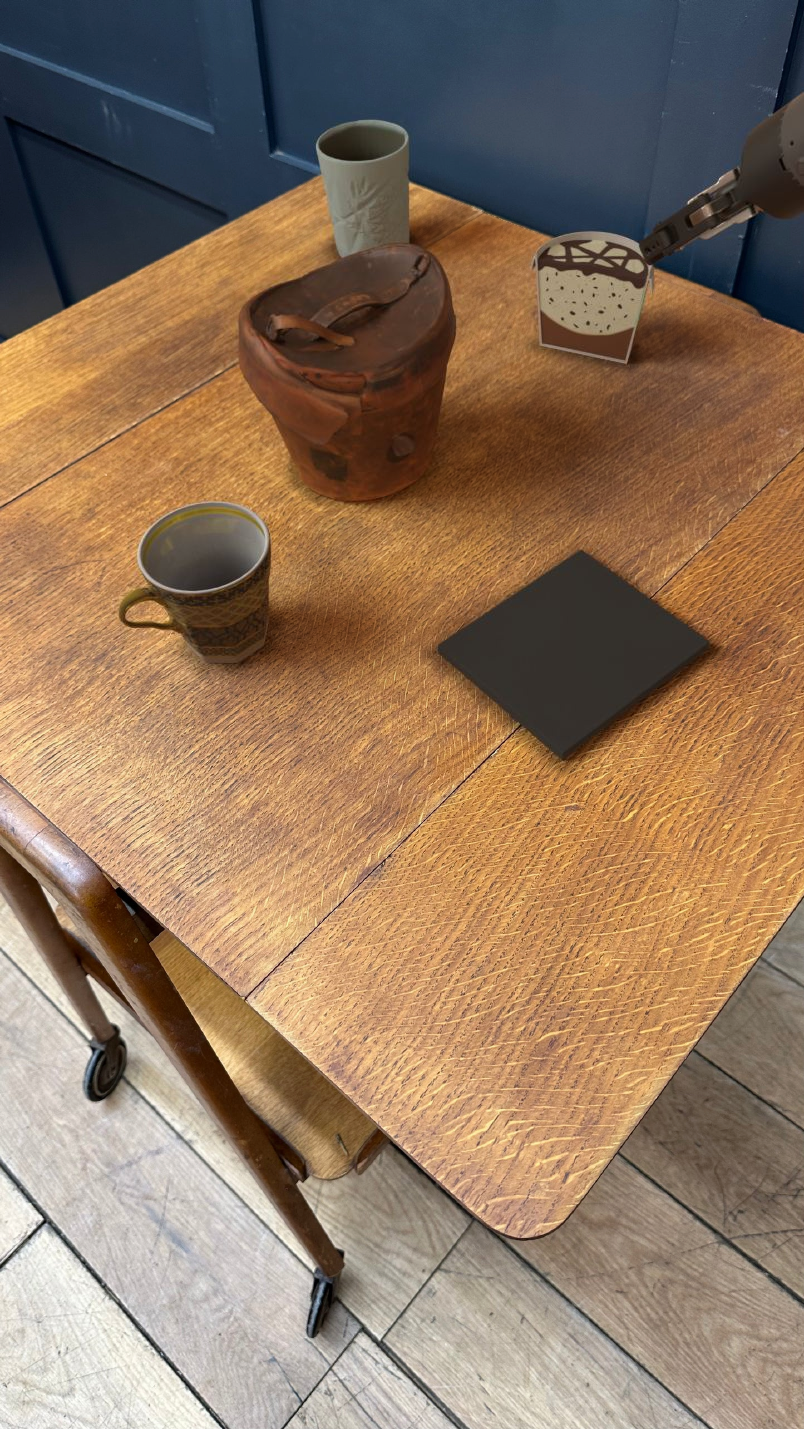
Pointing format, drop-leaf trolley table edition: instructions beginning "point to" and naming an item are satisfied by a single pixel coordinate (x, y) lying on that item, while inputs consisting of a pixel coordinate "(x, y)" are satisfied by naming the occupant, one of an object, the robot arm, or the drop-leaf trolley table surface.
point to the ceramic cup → (208, 578)
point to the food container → (591, 293)
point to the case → (354, 367)
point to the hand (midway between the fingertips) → (678, 236)
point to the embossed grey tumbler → (366, 183)
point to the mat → (572, 652)
